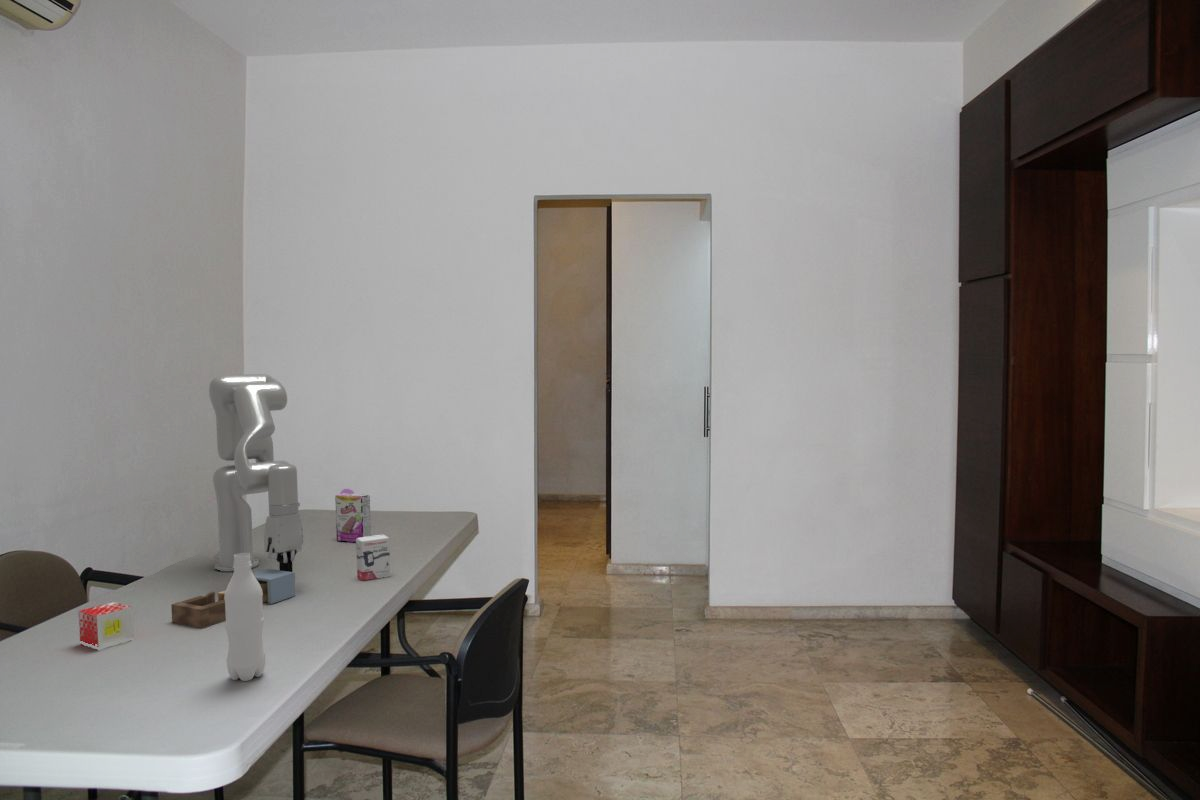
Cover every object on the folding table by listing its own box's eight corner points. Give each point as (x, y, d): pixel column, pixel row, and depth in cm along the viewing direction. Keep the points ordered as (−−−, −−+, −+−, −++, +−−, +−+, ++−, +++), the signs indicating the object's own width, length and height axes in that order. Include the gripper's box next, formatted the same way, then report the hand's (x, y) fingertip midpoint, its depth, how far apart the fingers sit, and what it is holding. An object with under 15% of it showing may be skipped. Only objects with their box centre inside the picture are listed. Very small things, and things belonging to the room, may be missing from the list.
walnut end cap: (170, 622, 208) (169, 604, 208) (213, 608, 219) (212, 591, 219) (203, 628, 203) (203, 610, 203) (245, 614, 214) (244, 596, 213)
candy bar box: (335, 542, 296) (334, 495, 295) (344, 539, 300) (343, 493, 299) (363, 543, 292) (361, 496, 291) (371, 540, 297) (370, 494, 296)
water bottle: (234, 671, 175) (229, 551, 174) (270, 669, 176) (265, 549, 174) (222, 684, 168) (216, 559, 166) (259, 682, 168) (254, 558, 167)
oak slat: (218, 612, 216) (217, 592, 216) (269, 595, 231) (268, 577, 230) (229, 614, 215) (228, 594, 214) (279, 597, 229) (278, 579, 228)
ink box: (362, 581, 243) (360, 540, 243) (356, 577, 247) (355, 537, 247) (391, 576, 248) (389, 536, 247) (385, 573, 252) (384, 533, 251)
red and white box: (98, 651, 189) (96, 616, 188) (80, 645, 193) (78, 610, 193) (134, 640, 196) (132, 606, 195) (115, 635, 200) (114, 601, 199)
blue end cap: (243, 599, 227) (242, 575, 226) (267, 591, 234) (266, 568, 233) (271, 603, 222) (270, 579, 221) (295, 595, 229) (294, 572, 228)
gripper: (294, 504, 240) (297, 568, 241) (251, 513, 227) (254, 581, 228) (314, 506, 237) (316, 571, 238) (271, 515, 223) (274, 584, 224)
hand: (286, 575), depth 233 cm, fingers closed
